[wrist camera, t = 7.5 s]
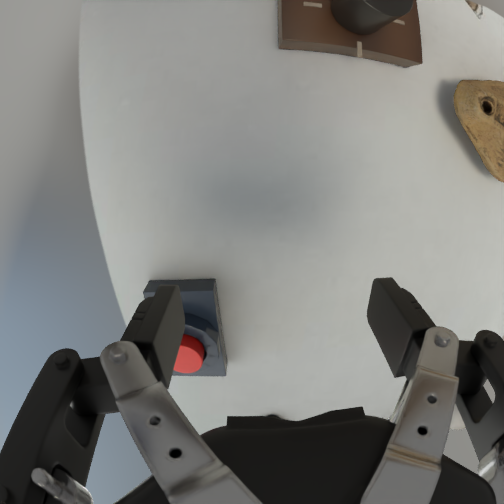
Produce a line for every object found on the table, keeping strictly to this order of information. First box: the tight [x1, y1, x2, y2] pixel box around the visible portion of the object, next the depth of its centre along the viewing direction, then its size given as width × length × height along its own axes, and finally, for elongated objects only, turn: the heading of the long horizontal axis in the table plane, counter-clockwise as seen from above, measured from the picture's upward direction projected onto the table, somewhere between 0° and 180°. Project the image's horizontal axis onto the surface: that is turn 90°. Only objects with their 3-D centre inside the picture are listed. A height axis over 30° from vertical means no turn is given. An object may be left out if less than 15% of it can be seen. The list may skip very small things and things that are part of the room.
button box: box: [143, 279, 227, 376], centre depth 30 cm, size 12×7×4 cm, turn 3°
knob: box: [331, 0, 413, 35], centre depth 13 cm, size 4×4×6 cm
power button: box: [173, 334, 204, 373], centre depth 28 cm, size 4×4×2 cm
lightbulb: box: [450, 404, 466, 430], centre depth 33 cm, size 6×6×11 cm
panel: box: [278, 0, 422, 67], centre depth 17 cm, size 12×9×3 cm
